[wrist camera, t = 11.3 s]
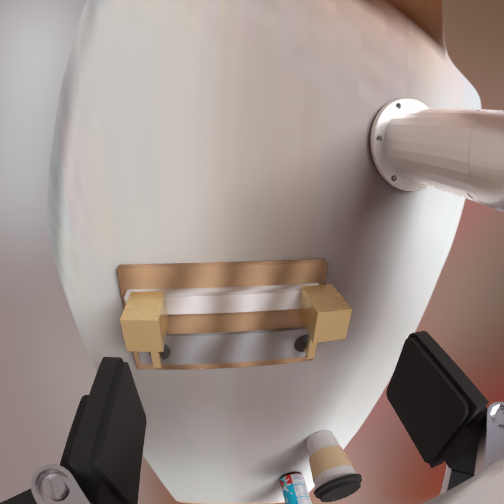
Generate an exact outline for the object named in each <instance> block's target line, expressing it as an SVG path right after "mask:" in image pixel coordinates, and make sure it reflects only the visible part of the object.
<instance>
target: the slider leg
mask: <svg viewBox="0 0 504 504" xmlns="http://www.w3.org/2000/svg"><path fill="white" fill-rule="evenodd" d="M120 323H121V328H122V332H123V337H124V341H125V345H126V349H127V351H132V352H151V357H152V362H153V367H154V368H161V367H162V352H164V344H165V337H166V331H167V324H168V316H167V308H166V300H165V291H153V292H131V293H130V296H129V298H128V301H127V303H126V306H125V308H124V311H123V313H122V316H121V318H120Z"/></svg>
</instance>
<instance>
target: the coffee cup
mask: <svg viewBox="0 0 504 504" xmlns="http://www.w3.org/2000/svg"><path fill="white" fill-rule="evenodd" d="M306 444H307V449H308V454H309V462H310V467H311V472H312V477H313V482H314V483H315V487H316V490H315V491H314V495H315V496H316V497H317V498H319V499H320V500H321V501H322V502H331V501H336V500H339V499H342V498H345V497H347V496H349V495H351V494H353V493H354V492H356V491H357V490H358V489H359V488H360V486H361V485H360V483H361V481H362V478H361V475H360V474H356V472H355V471H354V469H353V466H352V464H351V463H350V461H349V459H348V457H347V456H346V454H345V452H344V451H343V449H342V447H341V446H340V445H339V444H338V442H337V440H336V439H335V437H334V435H333V434H332V432H331V431H329V430H323V431H318V432H316V433H313V434H312V435H310V436H309V437H308V438H307V440H306Z"/></svg>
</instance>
